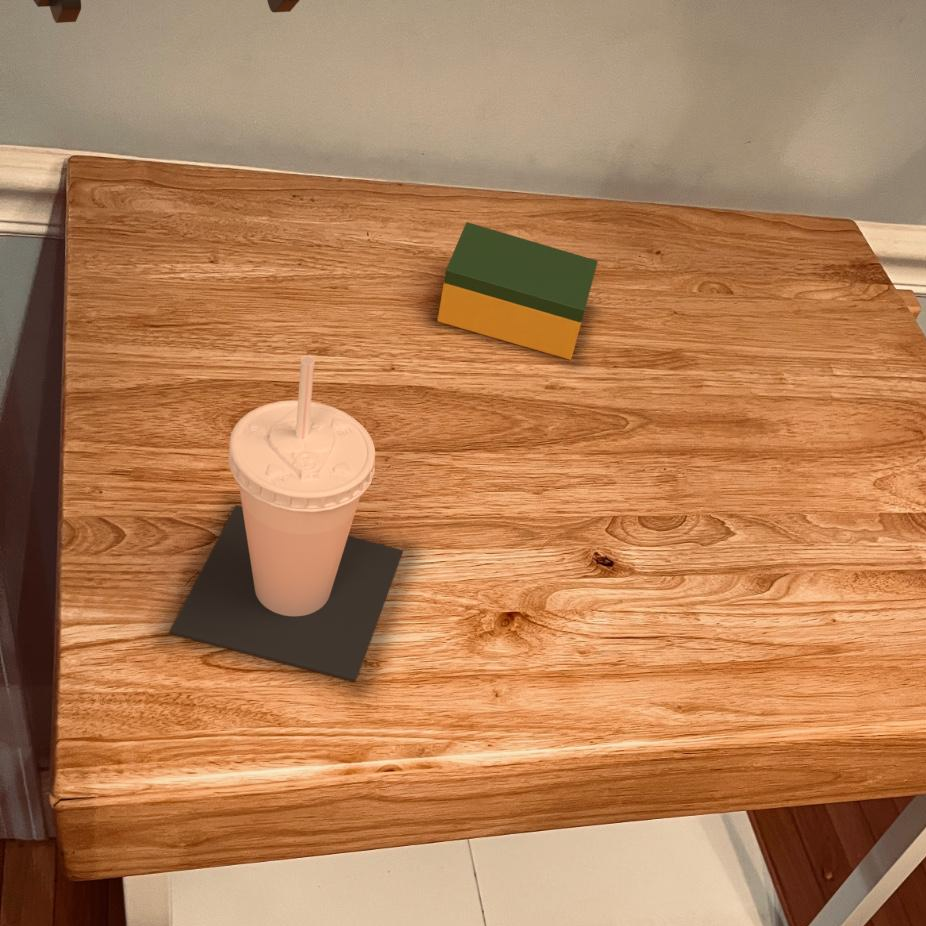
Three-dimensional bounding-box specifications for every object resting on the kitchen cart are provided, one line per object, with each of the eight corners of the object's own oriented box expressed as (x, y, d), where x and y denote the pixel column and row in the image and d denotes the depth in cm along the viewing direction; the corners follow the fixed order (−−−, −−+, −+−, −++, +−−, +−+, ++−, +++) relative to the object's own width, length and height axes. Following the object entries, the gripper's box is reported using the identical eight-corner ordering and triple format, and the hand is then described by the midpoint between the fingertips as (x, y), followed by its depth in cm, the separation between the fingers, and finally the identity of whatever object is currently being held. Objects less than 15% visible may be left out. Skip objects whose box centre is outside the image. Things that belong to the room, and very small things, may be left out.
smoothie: (346, 538, 63) (372, 321, 52) (368, 632, 59) (400, 419, 49) (219, 544, 60) (221, 319, 50) (233, 643, 57) (238, 422, 46)
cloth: (169, 633, 56) (169, 631, 56) (235, 507, 62) (235, 504, 62) (355, 682, 57) (355, 679, 57) (402, 552, 63) (402, 550, 63)
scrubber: (437, 321, 77) (445, 269, 74) (457, 272, 81) (466, 221, 78) (570, 360, 78) (584, 310, 75) (584, 309, 82) (598, 260, 79)
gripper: (-172, -581, 36) (-4, -18, 40) (274, -506, 43) (385, -31, 47) (-165, -419, 43) (-21, 54, 46) (222, -377, 50) (323, 32, 53)
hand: (183, 11), depth 46 cm, fingers open, 8 cm apart
